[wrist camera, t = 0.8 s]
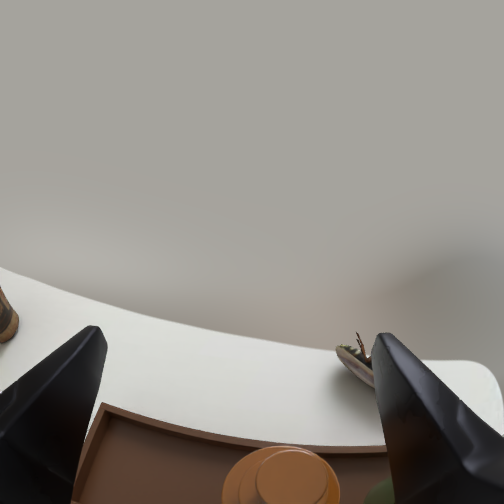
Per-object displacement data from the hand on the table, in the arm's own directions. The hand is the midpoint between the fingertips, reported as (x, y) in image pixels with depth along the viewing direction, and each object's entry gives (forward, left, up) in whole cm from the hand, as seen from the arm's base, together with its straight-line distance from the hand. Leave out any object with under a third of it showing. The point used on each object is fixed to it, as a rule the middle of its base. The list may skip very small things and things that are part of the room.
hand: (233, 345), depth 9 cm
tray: (-4, -2, -16) cm, 17 cm away
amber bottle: (-4, -2, -15) cm, 16 cm away
